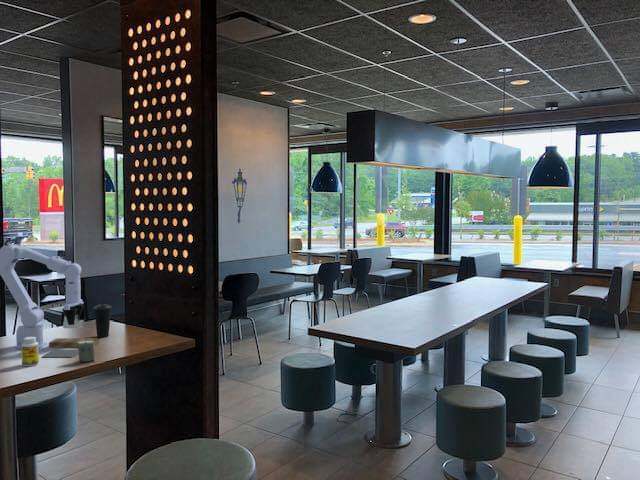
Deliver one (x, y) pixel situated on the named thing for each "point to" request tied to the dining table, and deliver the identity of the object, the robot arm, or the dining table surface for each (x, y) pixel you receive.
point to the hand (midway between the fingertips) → (73, 323)
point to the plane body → (70, 342)
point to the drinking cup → (102, 319)
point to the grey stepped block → (76, 325)
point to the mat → (61, 354)
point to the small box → (86, 351)
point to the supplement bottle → (30, 352)
